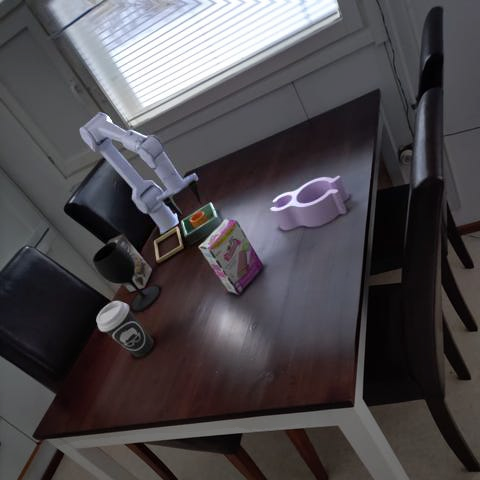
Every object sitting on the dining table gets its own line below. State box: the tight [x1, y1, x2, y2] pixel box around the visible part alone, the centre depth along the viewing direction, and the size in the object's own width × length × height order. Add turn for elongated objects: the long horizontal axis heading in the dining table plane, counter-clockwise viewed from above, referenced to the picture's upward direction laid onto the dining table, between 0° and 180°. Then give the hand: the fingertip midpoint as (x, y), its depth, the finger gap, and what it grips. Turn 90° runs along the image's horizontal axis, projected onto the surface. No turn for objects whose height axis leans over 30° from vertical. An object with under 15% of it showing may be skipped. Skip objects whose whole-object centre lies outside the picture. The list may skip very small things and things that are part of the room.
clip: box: [270, 175, 350, 231], centre depth 126 cm, size 20×12×7 cm, turn 74°
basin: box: [180, 202, 222, 246], centre depth 154 cm, size 13×13×4 cm
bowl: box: [190, 211, 207, 228], centre depth 154 cm, size 5×5×4 cm
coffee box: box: [106, 234, 153, 293], centre depth 147 cm, size 9×6×16 cm
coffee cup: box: [95, 300, 154, 358], centre depth 120 cm, size 10×10×15 cm
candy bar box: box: [197, 218, 265, 296], centre depth 118 cm, size 11×5×16 cm, turn 134°
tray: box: [153, 226, 184, 264], centre depth 159 cm, size 15×10×2 cm
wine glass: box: [92, 242, 160, 312], centre depth 137 cm, size 10×10×20 cm
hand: (191, 208), depth 151 cm, fingers open, 7 cm apart
